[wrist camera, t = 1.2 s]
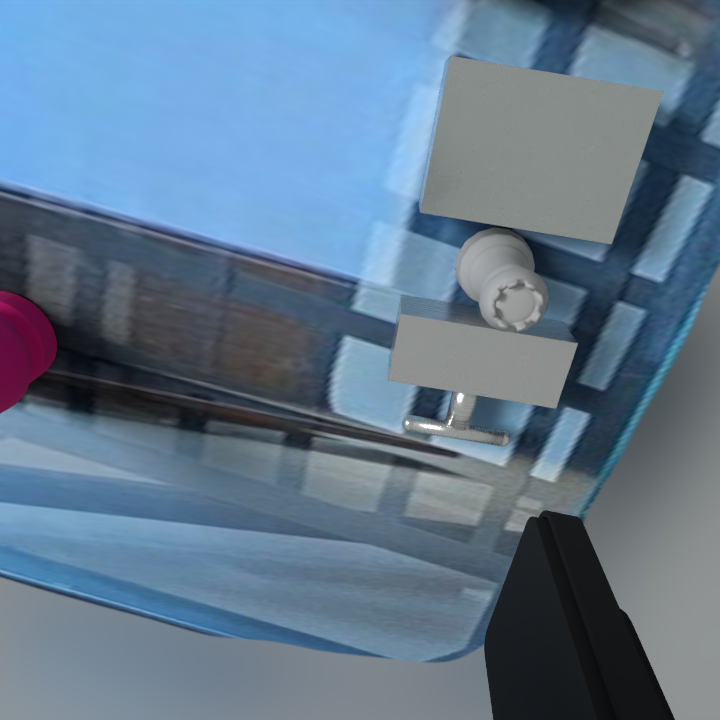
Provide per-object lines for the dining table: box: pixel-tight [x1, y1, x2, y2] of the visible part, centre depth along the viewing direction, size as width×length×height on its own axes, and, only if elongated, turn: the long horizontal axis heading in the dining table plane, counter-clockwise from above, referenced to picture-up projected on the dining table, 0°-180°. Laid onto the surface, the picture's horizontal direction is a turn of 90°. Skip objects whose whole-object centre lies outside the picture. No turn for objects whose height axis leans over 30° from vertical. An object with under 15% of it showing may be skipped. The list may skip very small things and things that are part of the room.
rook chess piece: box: [455, 228, 549, 333], centre depth 30 cm, size 4×4×8 cm
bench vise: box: [388, 56, 664, 446], centre depth 32 cm, size 21×10×4 cm, turn 171°
